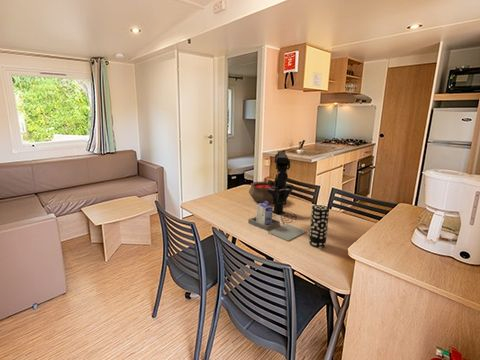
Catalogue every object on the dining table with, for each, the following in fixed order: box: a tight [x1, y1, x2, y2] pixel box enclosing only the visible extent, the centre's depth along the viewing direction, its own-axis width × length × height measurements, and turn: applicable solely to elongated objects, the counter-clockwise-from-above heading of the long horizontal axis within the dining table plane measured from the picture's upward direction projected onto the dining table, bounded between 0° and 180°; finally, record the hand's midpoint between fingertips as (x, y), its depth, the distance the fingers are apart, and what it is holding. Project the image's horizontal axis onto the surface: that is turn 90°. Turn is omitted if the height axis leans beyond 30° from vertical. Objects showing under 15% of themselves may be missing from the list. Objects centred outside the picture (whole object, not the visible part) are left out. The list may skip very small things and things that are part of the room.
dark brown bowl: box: [248, 178, 275, 204], centre depth 206 cm, size 24×24×16 cm
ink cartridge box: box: [255, 201, 274, 226], centre depth 162 cm, size 10×6×14 cm, turn 28°
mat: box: [267, 223, 308, 242], centre depth 152 cm, size 18×14×1 cm
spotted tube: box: [308, 204, 330, 249], centre depth 137 cm, size 8×8×20 cm
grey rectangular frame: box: [247, 216, 281, 231], centre depth 163 cm, size 12×15×2 cm
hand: (280, 202), depth 164 cm, fingers open, 9 cm apart
